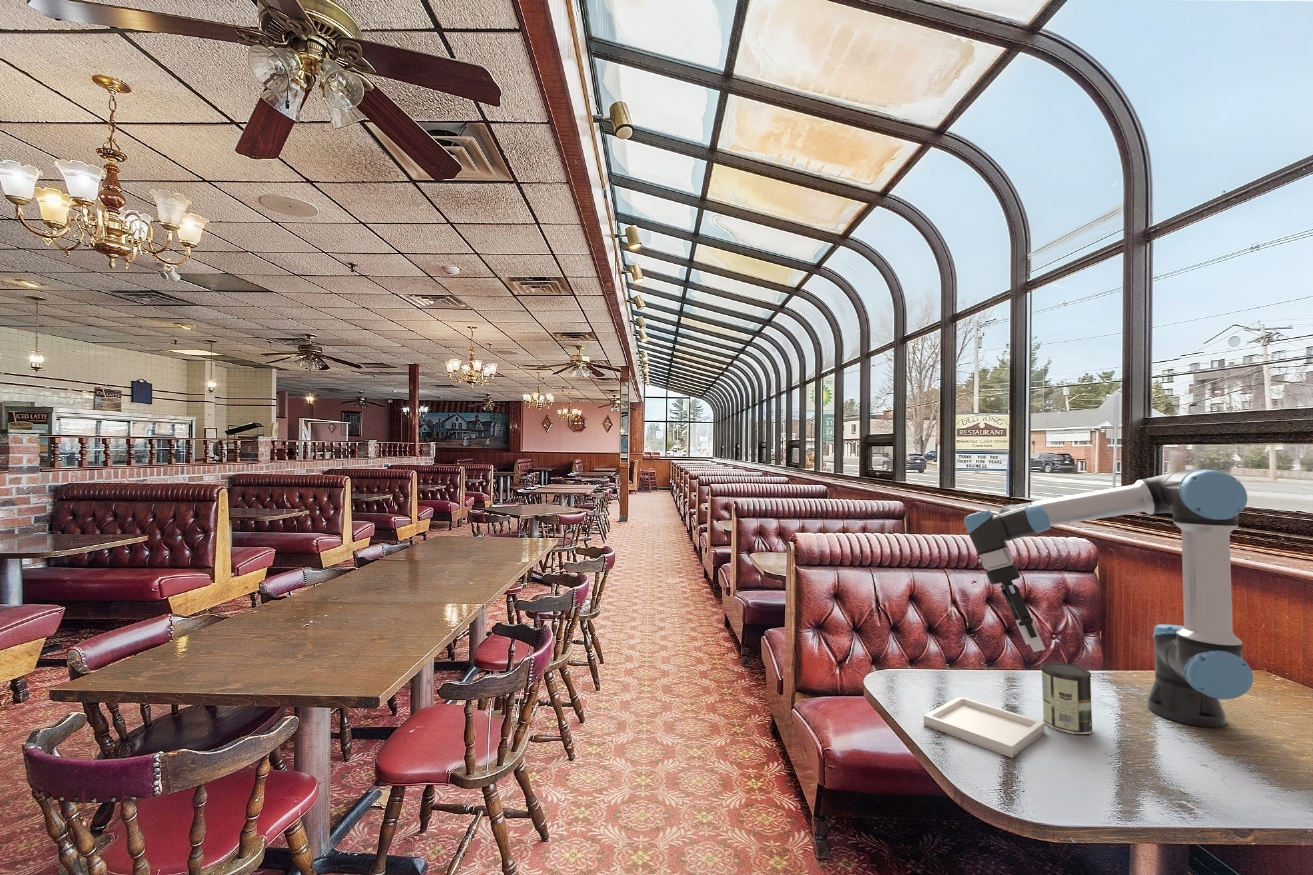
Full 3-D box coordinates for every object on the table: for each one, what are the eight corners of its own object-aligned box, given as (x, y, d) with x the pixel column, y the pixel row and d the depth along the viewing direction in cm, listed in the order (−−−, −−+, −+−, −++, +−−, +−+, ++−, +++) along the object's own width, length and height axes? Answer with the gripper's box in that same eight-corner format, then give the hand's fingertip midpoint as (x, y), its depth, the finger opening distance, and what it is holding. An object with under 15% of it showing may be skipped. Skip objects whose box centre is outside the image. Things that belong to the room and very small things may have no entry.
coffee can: (1079, 719, 147) (1077, 663, 148) (1101, 737, 137) (1100, 677, 138) (1035, 715, 149) (1033, 660, 150) (1054, 733, 139) (1052, 674, 140)
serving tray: (1044, 732, 139) (1044, 722, 140) (1012, 757, 127) (1012, 746, 127) (960, 705, 155) (959, 696, 155) (923, 725, 143) (923, 715, 143)
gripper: (981, 570, 168) (1014, 643, 162) (988, 571, 146) (1026, 657, 140) (1009, 562, 166) (1043, 637, 159) (1020, 563, 144) (1060, 650, 137)
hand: (1035, 647), depth 149 cm, fingers open, 13 cm apart
